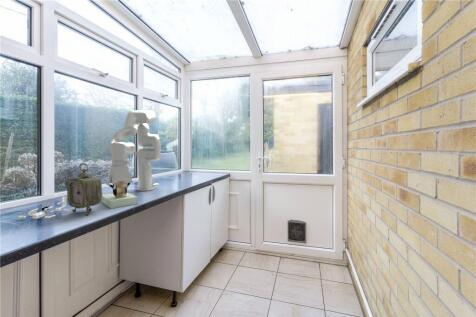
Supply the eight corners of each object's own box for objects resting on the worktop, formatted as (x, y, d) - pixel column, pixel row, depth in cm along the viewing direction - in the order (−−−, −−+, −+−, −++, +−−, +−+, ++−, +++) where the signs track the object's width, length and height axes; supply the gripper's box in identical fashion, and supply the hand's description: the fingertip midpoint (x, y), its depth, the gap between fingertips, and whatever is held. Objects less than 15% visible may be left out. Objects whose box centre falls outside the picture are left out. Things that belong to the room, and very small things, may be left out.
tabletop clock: (68, 213, 114) (65, 163, 112) (86, 208, 122) (85, 162, 120) (85, 217, 107) (83, 164, 106) (104, 212, 116) (102, 163, 114)
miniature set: (79, 200, 137) (98, 204, 136) (17, 223, 103) (41, 228, 101) (80, 190, 136) (98, 193, 135) (17, 210, 102) (42, 215, 101)
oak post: (123, 198, 135) (122, 179, 134) (125, 199, 132) (125, 180, 131) (115, 199, 132) (114, 180, 131) (117, 200, 129) (116, 181, 128)
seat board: (126, 198, 146) (125, 191, 146) (137, 203, 132) (137, 197, 132) (101, 201, 137) (101, 195, 137) (110, 208, 122) (110, 201, 122)
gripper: (132, 162, 139) (133, 192, 140) (101, 164, 128) (102, 196, 129) (136, 163, 134) (137, 194, 135) (104, 164, 122) (105, 198, 123)
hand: (120, 194), depth 132 cm, fingers closed on oak post, 4 cm apart
